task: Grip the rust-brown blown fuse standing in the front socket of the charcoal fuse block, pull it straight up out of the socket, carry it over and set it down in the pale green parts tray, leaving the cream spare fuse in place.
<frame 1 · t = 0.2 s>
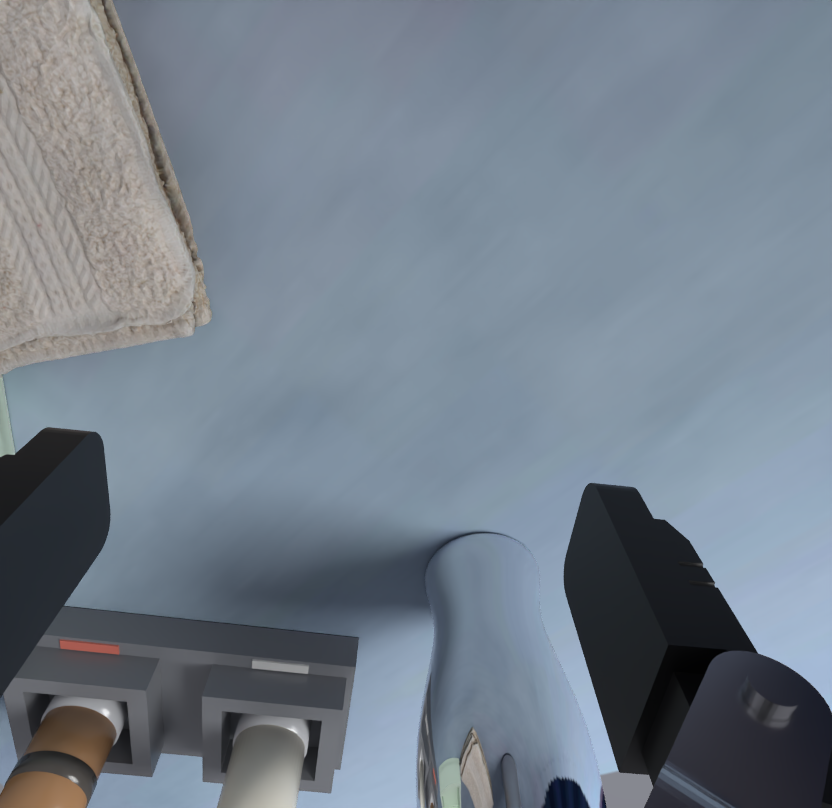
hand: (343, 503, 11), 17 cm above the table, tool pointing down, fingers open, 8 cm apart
fuse block: (198, 675, 38), on the table
beer glass: (481, 574, 35), on the table
blown fuse: (96, 696, 36), point 2 cm above the table, touching fuse block
washcloth: (12, 127, 25), on the table
spare fuse: (277, 714, 37), point 2 cm above the table, touching fuse block
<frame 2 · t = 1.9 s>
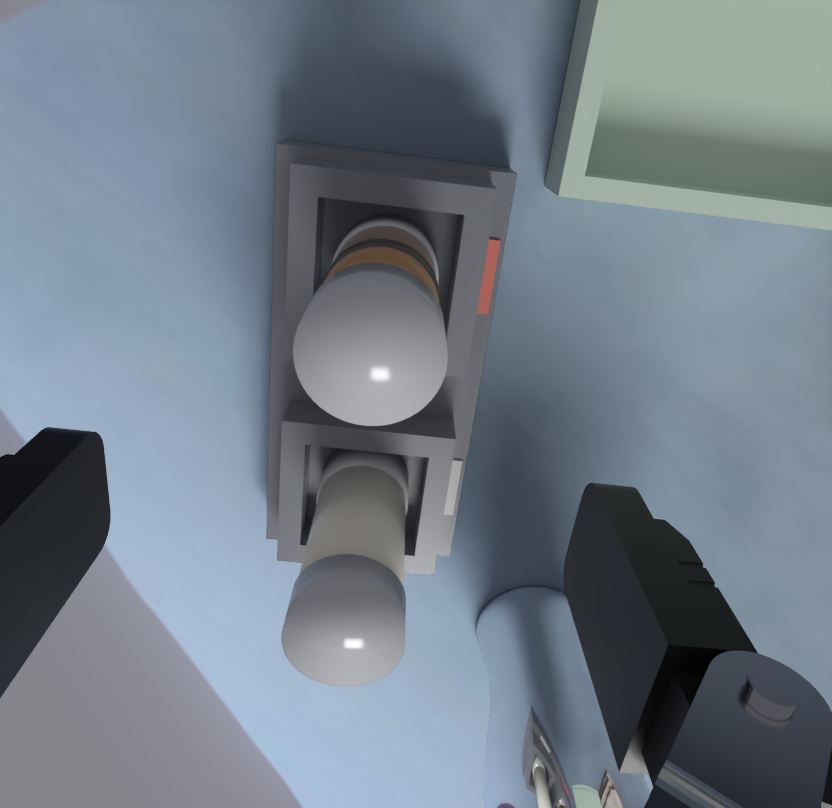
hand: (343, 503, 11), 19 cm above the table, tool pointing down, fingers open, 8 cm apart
parts tray: (739, 69, 25), on the table
fuse block: (378, 362, 30), on the table
beer glass: (529, 624, 37), on the table
blown fuse: (386, 265, 26), point 2 cm above the table, touching fuse block
spare fuse: (365, 478, 30), point 2 cm above the table, touching fuse block
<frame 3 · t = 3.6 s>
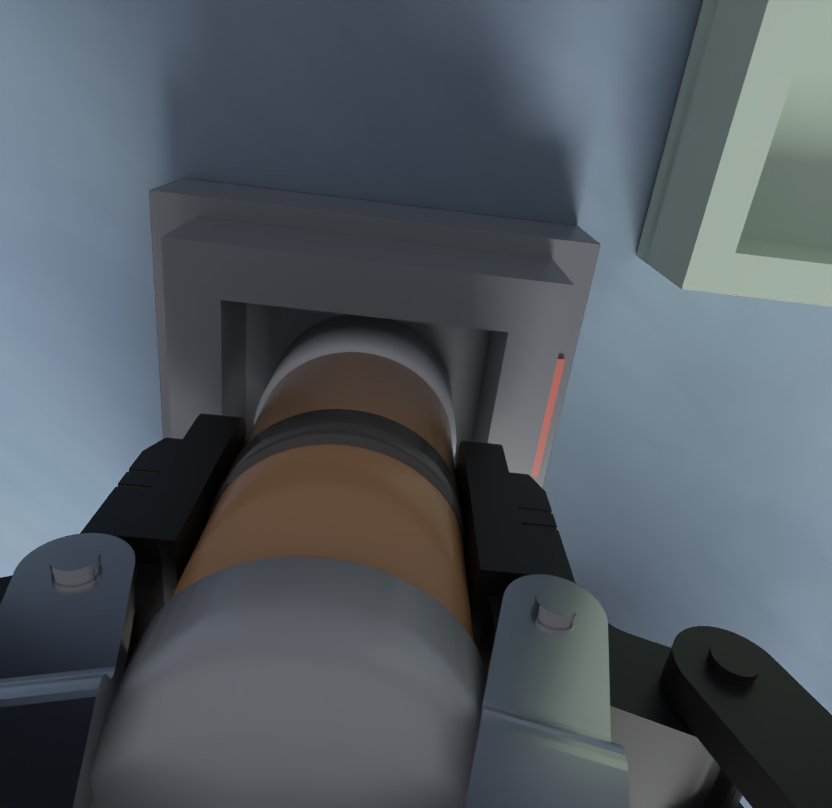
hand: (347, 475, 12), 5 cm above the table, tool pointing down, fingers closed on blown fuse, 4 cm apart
fuse block: (353, 526, 19), on the table
blown fuse: (362, 398, 15), point 2 cm above the table, touching fuse block, gripper
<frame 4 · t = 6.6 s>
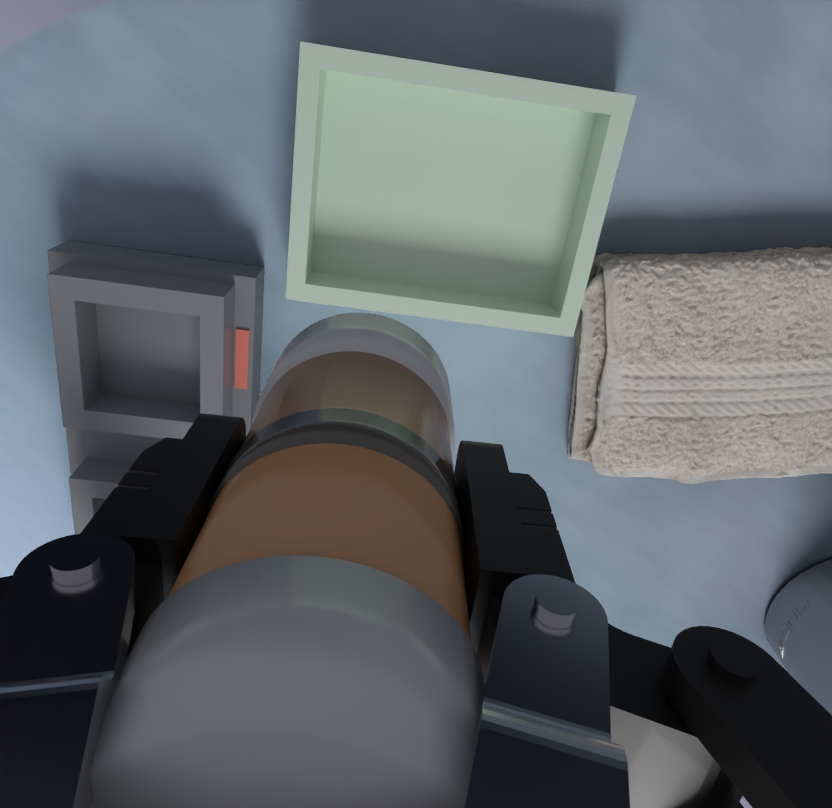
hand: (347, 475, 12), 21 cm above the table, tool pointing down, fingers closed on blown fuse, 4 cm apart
parts tray: (446, 193, 29), on the table
fuse block: (171, 422, 34), on the table
blown fuse: (361, 398, 15), point 17 cm above the table, touching gripper
washcloth: (735, 353, 34), on the table
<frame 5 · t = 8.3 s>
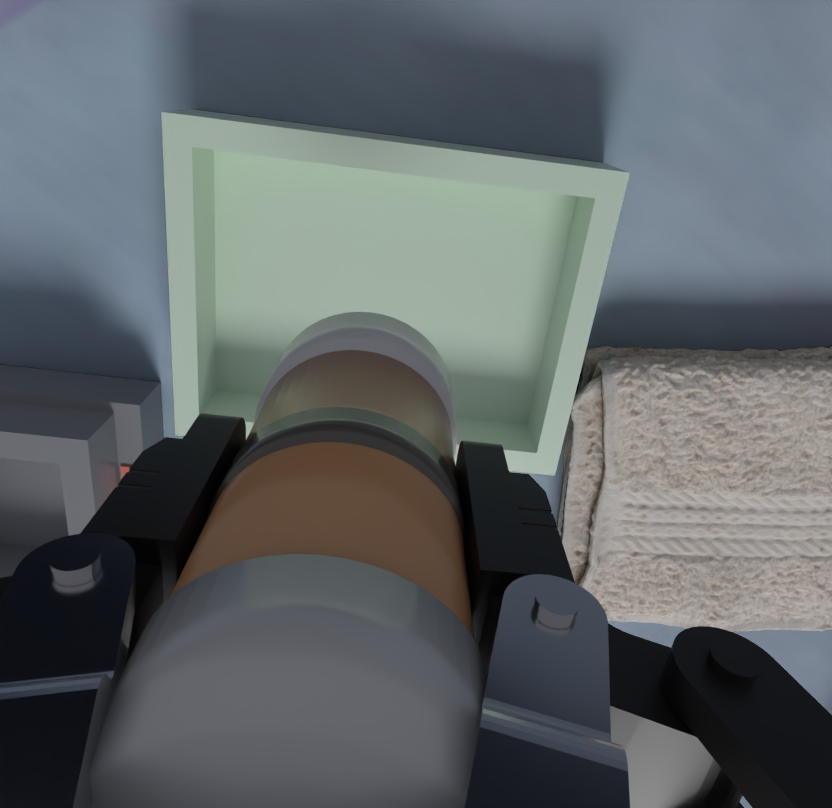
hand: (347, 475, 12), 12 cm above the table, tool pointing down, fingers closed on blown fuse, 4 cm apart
parts tray: (386, 290, 23), on the table
fuse block: (64, 561, 28), on the table
blown fuse: (362, 397, 15), point 9 cm above the table, touching gripper
washcloth: (769, 469, 27), on the table
when the fingers open (6 cm above the table, at t = 9.6 s): blown fuse drops 2 cm, resting on parts tray.
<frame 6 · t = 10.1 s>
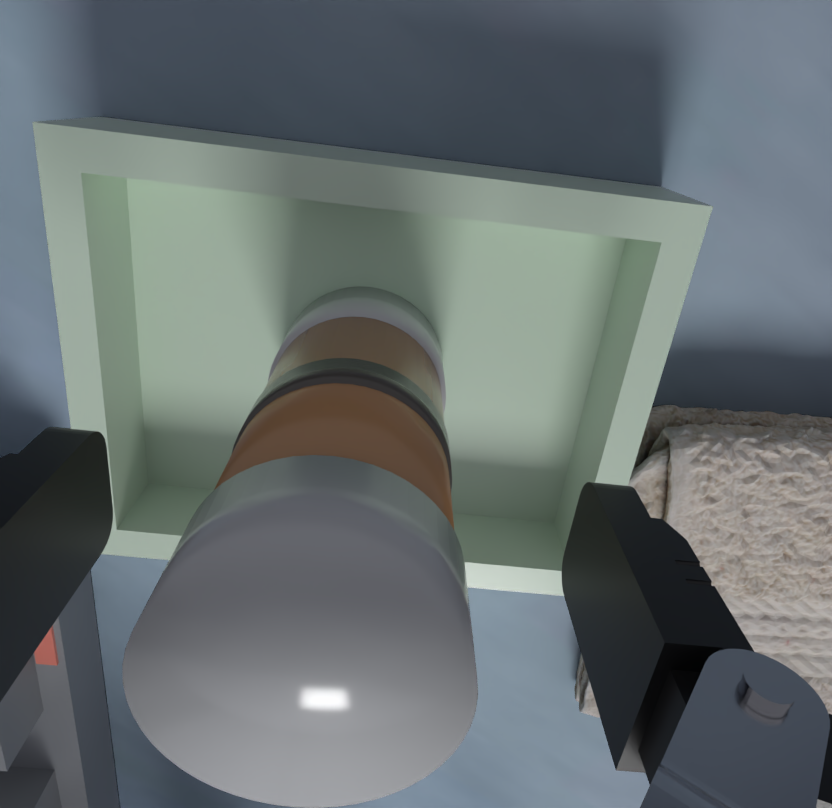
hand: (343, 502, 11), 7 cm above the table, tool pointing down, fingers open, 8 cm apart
parts tray: (369, 353, 17), on the table
blown fuse: (363, 364, 16), point 1 cm above the table, touching parts tray
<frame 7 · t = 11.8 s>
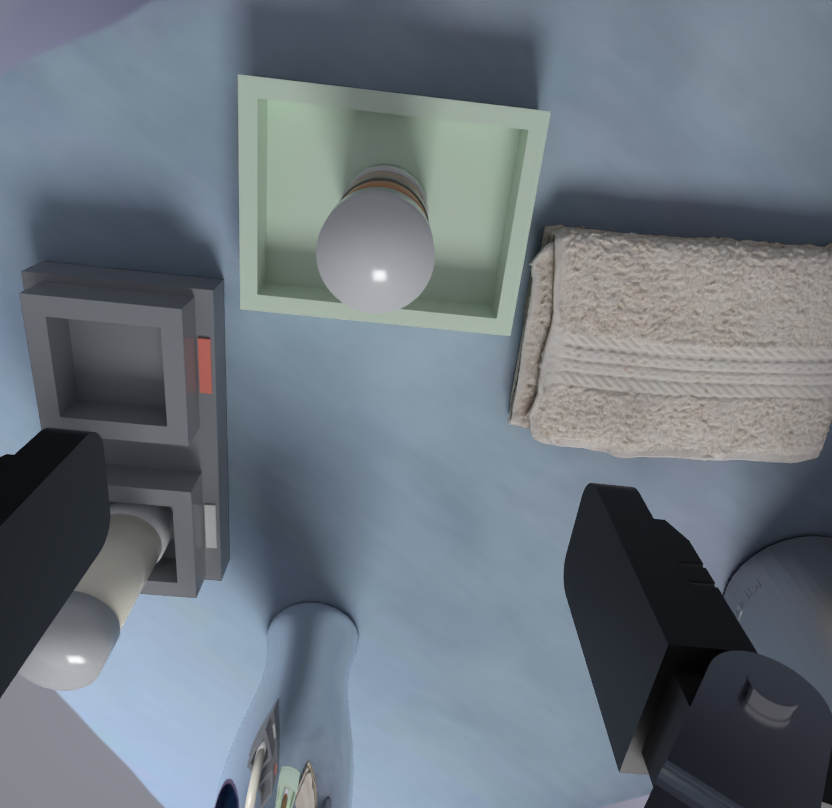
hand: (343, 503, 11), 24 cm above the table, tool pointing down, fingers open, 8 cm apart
parts tray: (387, 206, 32), on the table
fuse block: (146, 426, 37), on the table
beer glass: (313, 633, 44), on the table
blown fuse: (385, 208, 31), point 1 cm above the table, touching parts tray
washcloth: (675, 338, 36), on the table
spare fuse: (140, 520, 37), point 2 cm above the table, touching fuse block
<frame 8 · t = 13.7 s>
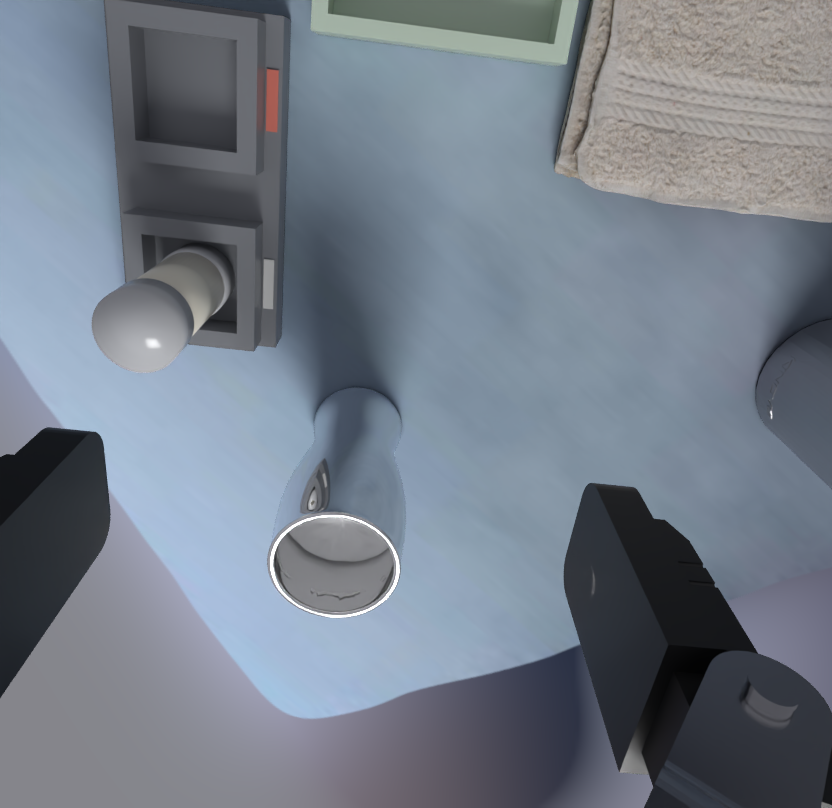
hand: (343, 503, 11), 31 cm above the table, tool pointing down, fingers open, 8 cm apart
fuse block: (209, 184, 38), on the table
beer glass: (358, 424, 46), on the table
washcloth: (719, 94, 37), on the table
spare fuse: (201, 276, 39), point 2 cm above the table, touching fuse block
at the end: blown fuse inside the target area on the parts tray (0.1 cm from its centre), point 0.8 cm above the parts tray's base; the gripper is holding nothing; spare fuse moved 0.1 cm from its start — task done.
